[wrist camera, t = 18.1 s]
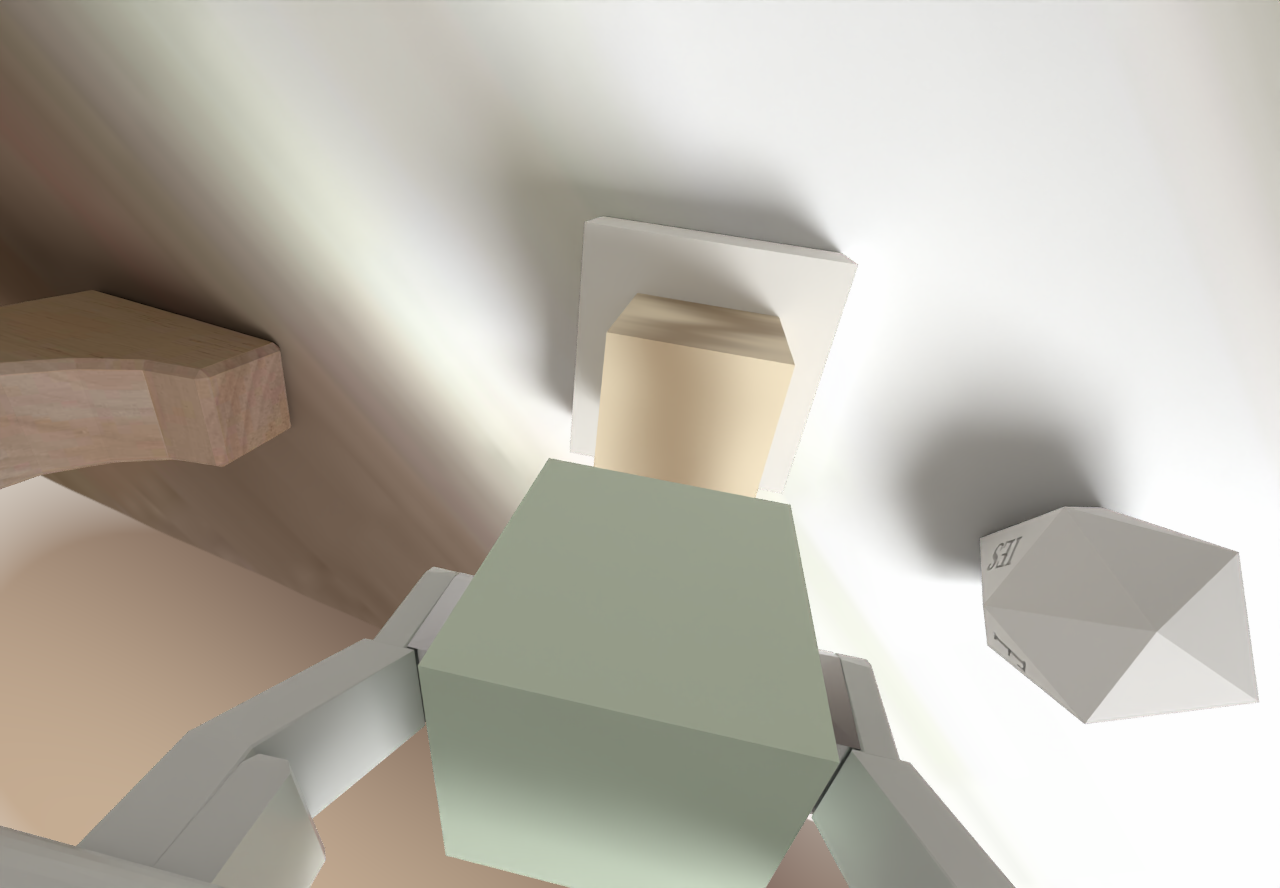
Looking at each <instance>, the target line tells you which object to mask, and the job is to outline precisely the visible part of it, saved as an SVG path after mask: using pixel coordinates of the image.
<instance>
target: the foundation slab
mask: <svg viewBox="0 0 1280 888" xmlns="http://www.w3.org/2000/svg"><path fill="white" fill-rule="evenodd" d="M857 267H858V264H856V263H855V262H854V261H852V260H851V259H849V258H848V257H847V256H845V255H844V254H842V253H838V252H832V251H825V250H819V249H813V248H806V247H800V246H793V245H787V244H780V243H774V242H767V241H761V240H754V239H748V238H742V237H735V236H729V235H722V234H716V233H709V232H703V231H696V230H690V229H683V228H677V227H671V226H664V225H658V224H651V223H645V222H638V221H632V220H625V219H619V218H612V217H606V216H601V217H598V218H595V219H592V220H589V221H586V222H584V237H583V253H582V268H581V284H580V300H579V315H578V331H577V347H576V362H575V378H574V394H573V409H572V425H571V441H570V452H572V453H577V454H582V455H587V456H592V457H595V447H596V437H597V426H598V416H599V405H600V395H601V385H602V374H603V364H604V353H605V343H606V332H607V331H608V330H609V328H610V327H611V326H612V325H613V323H614V322H615V321H616V320H617V318H618V317H619V316H620V314H621V313H622V312H623V311H624V309H625V308H626V307H627V306H628V304H629V303H630V302H631V301H632V299H633V298H634V297H635V295H636V294H637V293H641V294H647V295H653V296H659V297H665V298H671V299H677V300H682V301H688V302H694V303H700V304H706V305H712V306H718V307H724V308H730V309H736V310H742V311H748V312H754V313H760V314H765V315H771V316H777V317H779V318H780V321H781V324H782V327H783V330H784V333H785V336H786V339H787V342H788V345H789V348H790V351H791V354H792V357H793V360H794V363H795V367H794V371H793V374H792V377H791V381H790V384H789V387H788V391H787V394H786V397H785V401H784V404H783V407H782V411H781V414H780V417H779V421H778V424H777V427H776V431H775V434H774V437H773V441H772V444H771V447H770V451H769V454H768V457H767V461H766V464H765V467H764V471H763V474H762V477H761V481H760V484H759V487H758V489H762V490H767V491H772V492H777V493H782V494H783V491H784V488H785V485H786V482H787V479H788V476H789V473H790V470H791V467H792V464H793V461H794V458H795V455H796V452H797V449H798V446H799V443H800V440H801V437H802V434H803V431H804V428H805V424H806V421H807V418H808V415H809V412H810V409H811V406H812V403H813V400H814V397H815V394H816V391H817V388H818V385H819V382H820V379H821V376H822V373H823V370H824V367H825V364H826V361H827V358H828V355H829V352H830V349H831V346H832V343H833V340H834V337H835V334H836V331H837V328H838V324H839V321H840V318H841V315H842V312H843V309H844V306H845V303H846V300H847V297H848V294H849V291H850V288H851V285H852V282H853V279H854V276H855V273H856V270H857Z"/></svg>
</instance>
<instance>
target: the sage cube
mask: <svg viewBox="0 0 1280 888" xmlns="http://www.w3.org/2000/svg"><path fill="white" fill-rule="evenodd" d="M418 671H419V678H420V684H421V691H422V698H423V705H424V711H425V718H426V725H427V732H428V738H429V745H430V752H431V758H432V765H433V772H434V779H435V785H436V792H437V799H438V806H439V813H440V819H441V826H442V833H443V840H444V846H445V853H446V855H447V856H450V857H455V858H458V859H462V860H466V861H470V862H473V863H477V864H481V865H486V866H489V867H493V868H497V869H501V870H505V871H508V872H512V873H516V874H520V875H524V876H528V877H532V878H536V879H540V880H543V881H547V882H551V883H555V884H559V885H562V886H567V887H571V888H766V886H767V884H768V883H769V881H770V879H771V878H772V876H773V874H774V873H775V871H776V869H777V868H778V866H779V864H780V863H781V861H782V859H783V858H784V856H785V854H786V852H787V850H788V849H789V847H790V846H791V844H792V842H793V841H794V839H795V837H796V835H797V834H798V832H799V830H800V829H801V827H802V825H803V824H804V822H805V820H806V819H807V817H808V815H809V814H810V812H811V810H812V809H813V807H814V805H815V804H816V802H817V800H818V799H819V797H820V795H821V793H822V792H823V790H824V788H825V787H826V785H827V783H828V782H829V780H830V778H831V777H832V775H833V773H834V772H835V770H836V768H837V767H838V765H839V763H840V761H839V756H838V751H837V745H836V740H835V735H834V730H833V725H832V719H831V714H830V709H829V704H828V698H827V693H826V688H825V683H824V678H823V672H822V667H821V662H820V657H819V651H818V646H817V641H816V636H815V631H814V625H813V620H812V615H811V610H810V604H809V599H808V594H807V589H806V584H805V578H804V573H803V568H802V563H801V557H800V552H799V547H798V542H797V537H796V531H795V526H794V521H793V516H792V510H791V505H789V504H783V503H778V502H773V501H768V500H763V499H757V498H752V497H747V496H742V495H737V494H732V493H726V492H721V491H716V490H711V489H706V488H701V487H695V486H690V485H685V484H680V483H675V482H669V481H664V480H659V479H654V478H649V477H644V476H638V475H633V474H628V473H623V472H618V471H613V470H607V469H602V468H597V467H592V466H587V465H581V464H576V463H571V462H566V461H561V460H556V459H550V458H549V459H548V461H547V462H546V464H545V465H544V467H543V469H542V470H541V472H540V473H539V475H538V476H537V478H536V480H535V481H534V483H533V484H532V486H531V487H530V489H529V491H528V492H527V494H526V495H525V497H524V499H523V500H522V502H521V503H520V505H519V506H518V508H517V510H516V511H515V513H514V514H513V516H512V517H511V519H510V521H509V522H508V524H507V525H506V527H505V529H504V530H503V532H502V533H501V535H500V536H499V538H498V540H497V541H496V543H495V544H494V546H493V547H492V549H491V551H490V552H489V554H488V555H487V557H486V559H485V560H484V562H483V563H482V565H481V566H480V568H479V570H478V571H477V573H476V574H475V576H474V577H473V579H472V581H471V582H470V584H469V585H468V587H467V589H466V590H465V592H464V593H463V595H462V596H461V598H460V600H459V601H458V603H457V604H456V606H455V607H454V609H453V611H452V612H451V614H450V615H449V617H448V619H447V620H446V622H445V623H444V625H443V626H442V628H441V630H440V631H439V633H438V634H437V636H436V637H435V639H434V641H433V642H432V644H431V645H430V647H429V649H428V650H427V652H426V653H425V655H424V656H423V658H422V660H421V661H420V663H419V664H418Z"/></svg>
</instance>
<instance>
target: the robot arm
mask: <svg viewBox="0 0 1280 888" xmlns="http://www.w3.org/2000/svg"><path fill="white" fill-rule="evenodd" d="M473 577H474V576H472V575H468V574H464V573H459V572H454V571H450V570H446V569H442V568H437V567H433V568H431V569H430V570H428V571H427V572H425V573H424V575H423V576H422V577H421V578H420V580H419V581H418V582H417V584H416V585H415V586H414V588H413V589H412V590H411V591H410V593H409V594H408V595H407V597H406V598H405V599H404V601H403V602H402V603H401V604H400V606H399V607H398V608H397V610H396V611H395V612H394V614H393V615H392V616H391V617H390V619H389V620H388V621H387V623H386V624H385V625H384V627H383V628H382V629H381V630H380V632H379V633H378V634H377V636H376V637H375V638H374V640H370V639H365V638H364V639H362V640H361V641H359V642H357V643H355V644H353V645H351V646H349V647H347V648H346V649H344V650H342V651H340V652H338V653H336V654H334V655H332V656H330V657H329V658H327V659H325V660H323V661H321V662H319V663H317V664H315V665H313V666H311V667H309V668H308V669H306V670H304V671H302V672H300V673H298V674H296V675H294V676H292V677H291V678H289V679H287V680H285V681H283V682H281V683H279V684H277V685H275V686H274V687H272V688H270V689H268V690H266V691H264V692H262V693H260V694H258V695H256V696H255V697H253V698H251V699H249V700H247V701H245V702H243V703H241V704H239V705H237V706H236V707H234V708H232V709H230V710H228V711H226V712H224V713H222V714H220V715H219V716H217V717H215V718H213V719H211V720H209V721H207V722H205V723H204V724H201V725H200V726H198V727H196V728H194V729H192V730H190V731H188V732H187V733H186V734H185V735H184V736H183V737H182V739H180V740H179V742H177V743H176V745H174V747H173V748H172V749H171V750H170V751H169V752H168V753H167V754H166V755H165V756H164V757H163V758H162V759H161V760H160V761H159V762H158V763H157V764H156V765H155V766H154V767H153V768H152V769H151V770H150V771H149V772H148V773H147V774H146V775H145V776H144V777H143V778H142V779H141V780H140V781H139V782H138V783H137V784H136V785H135V786H134V787H133V789H132V790H131V791H130V792H129V793H128V794H127V795H126V796H125V797H124V798H123V799H122V800H121V801H120V802H119V803H118V804H117V805H116V806H115V807H114V808H113V809H112V810H111V811H110V812H109V813H108V814H107V815H106V816H105V817H104V818H103V819H102V820H101V821H100V822H99V823H98V824H97V825H96V826H95V827H94V828H93V829H92V830H91V832H89V834H88V835H87V836H86V837H85V838H84V839H83V840H82V841H81V842H80V843H79V844H78V845H77V846H73V845H69V844H65V843H61V842H58V841H54V840H51V839H47V838H43V837H39V836H36V835H32V834H29V833H25V832H22V831H17V830H14V829H11V828H7V827H3V826H0V888H310V886H311V884H312V883H313V881H314V879H315V878H316V876H317V874H318V872H319V871H320V869H321V867H322V865H323V864H324V862H325V860H326V858H325V848H324V845H323V843H322V841H321V838H320V836H319V833H318V831H317V829H316V826H315V824H314V822H313V819H312V818H313V817H314V816H316V815H317V814H318V813H319V812H321V811H322V810H323V809H324V808H325V807H327V806H328V805H329V804H330V803H331V802H333V801H334V800H335V799H336V798H338V797H339V796H340V795H341V794H342V793H344V792H345V791H346V790H347V789H348V788H350V787H351V786H352V785H353V784H354V783H356V782H357V781H358V780H359V779H361V778H362V777H363V776H364V775H366V774H367V773H368V772H369V771H370V770H372V769H373V768H374V767H375V766H376V765H377V764H379V763H380V762H381V761H383V760H384V759H385V758H386V757H387V756H389V755H390V754H391V753H392V752H393V751H395V750H396V749H397V748H398V747H400V746H401V745H402V744H403V743H404V742H406V741H407V740H408V739H409V738H410V737H412V736H413V735H414V734H415V733H416V732H418V731H419V730H420V729H421V728H423V727H424V726H425V722H426V718H425V711H424V705H423V698H422V691H421V684H420V678H419V671H418V664H419V663H420V661H421V660H422V658H423V656H424V655H425V653H426V652H427V650H428V649H429V647H430V645H431V644H432V642H433V641H434V639H435V637H436V636H437V634H438V633H439V631H440V630H441V628H442V626H443V625H444V623H445V622H446V620H447V619H448V617H449V615H450V614H451V612H452V611H453V609H454V607H455V606H456V604H457V603H458V601H459V600H460V598H461V596H462V595H463V593H464V592H465V590H466V589H467V587H468V585H469V584H470V582H471V581H472V579H473ZM818 651H819V657H820V662H821V667H822V672H823V678H824V683H825V688H826V693H827V698H828V704H829V709H830V714H831V719H832V725H833V730H834V735H835V740H836V745H837V751H838V756H839V761H840V763H839V765H838V767H837V768H836V770H835V772H834V773H833V775H832V777H831V778H830V780H829V782H828V783H827V785H826V787H825V788H824V790H823V792H822V793H821V795H820V797H819V799H818V800H817V802H816V804H815V805H814V807H813V809H812V810H811V812H810V814H813V815H812V819H813V821H814V823H815V824H816V826H817V828H818V830H819V832H820V834H821V835H822V837H823V839H824V841H825V843H826V845H827V847H828V849H829V851H830V852H831V854H832V856H833V858H834V860H835V862H836V864H837V865H838V867H839V869H840V871H841V873H842V875H843V877H844V878H845V880H846V882H847V884H848V886H849V888H1015V887H1014V885H1013V884H1012V883H1011V882H1010V881H1009V879H1008V878H1007V877H1006V876H1005V875H1004V874H1003V872H1002V871H1001V870H1000V869H999V868H998V866H997V865H996V864H995V863H994V862H993V860H992V859H991V858H990V857H989V856H988V855H987V853H986V852H985V851H984V850H983V849H982V847H981V846H980V845H979V844H978V843H977V841H976V840H975V839H974V838H973V837H972V836H971V834H970V833H969V832H968V831H967V830H966V828H965V827H964V826H963V825H962V824H961V823H960V821H959V820H958V819H957V818H956V817H955V815H954V814H953V813H952V812H951V811H950V809H949V808H948V807H947V806H946V805H945V804H944V802H943V801H942V800H941V799H940V798H939V796H938V795H937V794H936V793H935V792H934V790H933V789H932V788H931V787H930V786H929V785H928V783H927V782H926V781H925V780H924V779H923V777H922V776H921V775H920V774H919V773H918V772H917V770H916V769H915V768H914V767H913V766H912V764H911V763H909V762H906V761H902V760H900V759H899V755H898V752H897V749H896V745H895V742H894V739H893V736H892V732H891V729H890V726H889V722H888V719H887V716H886V712H885V709H884V706H883V702H882V699H881V696H880V693H879V689H878V686H877V683H876V679H875V676H874V673H873V669H872V666H871V665H870V663H869V662H868V661H867V660H866V659H862V658H857V657H852V656H847V655H843V654H838V653H833V652H830V651H825V650H820V649H818Z"/></svg>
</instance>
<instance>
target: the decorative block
mask: <svg viewBox="0 0 1280 888" xmlns="http://www.w3.org/2000/svg"><path fill="white" fill-rule="evenodd" d="M290 427H291V423H290V416H289V409H288V402H287V395H286V388H285V381H284V374H283V367H282V360H281V353H280V348H279V346H277V345H276V344H274V343H273V342H269V341H266V340H263V339H259V338H256V337H253V336H249V335H246V334H242V333H239V332H236V331H232V330H229V329H225V328H222V327H219V326H215V325H212V324H208V323H205V322H202V321H198V320H195V319H191V318H188V317H185V316H181V315H178V314H174V313H171V312H167V311H164V310H160V309H157V308H153V307H150V306H146V305H143V304H140V303H136V302H133V301H129V300H126V299H122V298H119V297H115V296H112V295H108V294H105V293H101V292H98V291H94V290H88V291H83V292H77V293H72V294H66V295H61V296H55V297H49V298H44V299H38V300H33V301H27V302H22V303H16V304H11V305H5V306H0V489H2V488H5V487H8V486H11V485H14V484H17V483H19V482H22V481H25V480H28V479H30V478H34V477H36V476H39V475H42V474H48V473H54V472H60V471H66V470H72V469H78V468H84V467H89V466H95V465H101V464H107V463H113V462H132V461H152V460H173V459H175V460H182V461H188V462H195V463H202V464H208V465H215V466H221V467H223V466H225V465H227V464H229V463H230V462H232V461H234V460H236V459H237V458H239V457H241V456H242V455H244V454H246V453H248V452H249V451H251V450H253V449H255V448H256V447H258V446H260V445H262V444H263V443H265V442H267V441H269V440H270V439H272V438H274V437H275V436H277V435H279V434H281V433H282V432H284V431H286V430H287V429H289V428H290Z"/></svg>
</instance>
